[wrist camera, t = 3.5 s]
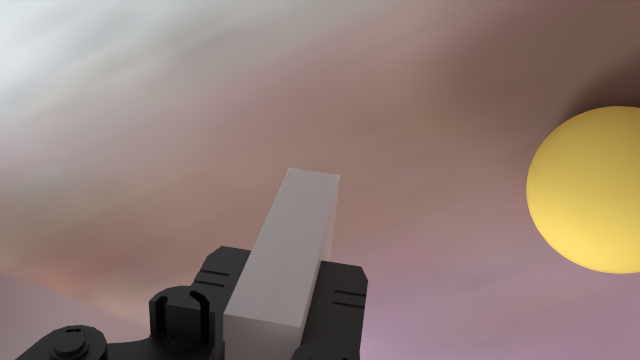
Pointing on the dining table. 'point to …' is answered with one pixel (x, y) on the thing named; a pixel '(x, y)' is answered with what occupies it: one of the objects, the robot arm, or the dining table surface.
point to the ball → (590, 189)
